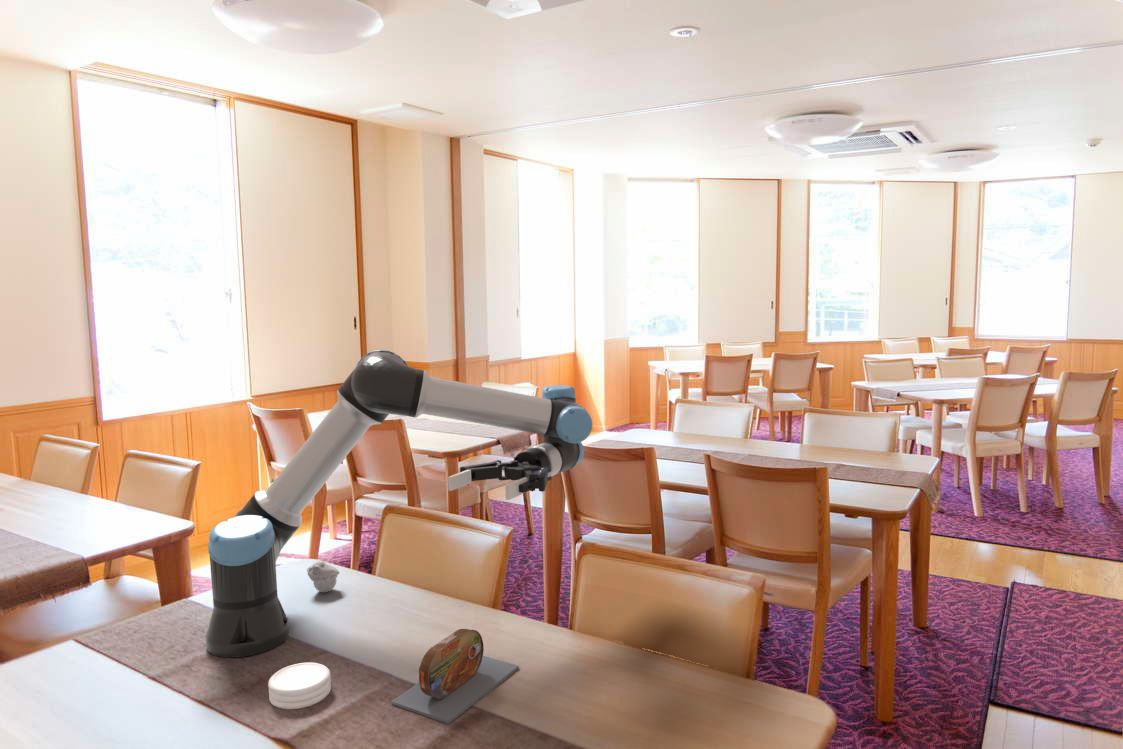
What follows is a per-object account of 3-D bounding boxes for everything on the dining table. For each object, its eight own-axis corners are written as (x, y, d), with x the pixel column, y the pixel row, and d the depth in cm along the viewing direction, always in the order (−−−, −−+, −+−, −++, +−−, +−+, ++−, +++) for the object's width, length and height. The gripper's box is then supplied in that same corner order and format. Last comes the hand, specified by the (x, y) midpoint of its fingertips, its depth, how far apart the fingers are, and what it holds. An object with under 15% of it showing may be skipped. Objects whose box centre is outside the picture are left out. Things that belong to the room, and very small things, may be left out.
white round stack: (342, 684, 135) (341, 664, 134) (308, 714, 125) (307, 694, 125) (293, 676, 137) (292, 658, 137) (256, 706, 128) (255, 686, 128)
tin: (431, 708, 125) (429, 659, 124) (416, 703, 127) (414, 654, 126) (485, 667, 138) (484, 623, 137) (471, 663, 140) (470, 619, 139)
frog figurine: (311, 587, 177) (309, 557, 176) (342, 585, 178) (341, 556, 177) (305, 597, 171) (303, 567, 170) (337, 596, 172) (336, 565, 171)
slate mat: (391, 704, 128) (391, 701, 127) (465, 653, 145) (465, 650, 145) (448, 724, 122) (448, 721, 121) (518, 668, 139) (518, 665, 139)
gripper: (588, 488, 160) (533, 516, 141) (489, 474, 172) (427, 498, 154) (587, 453, 159) (532, 476, 141) (488, 441, 171) (426, 462, 153)
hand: (477, 488), depth 147 cm, fingers open, 13 cm apart
